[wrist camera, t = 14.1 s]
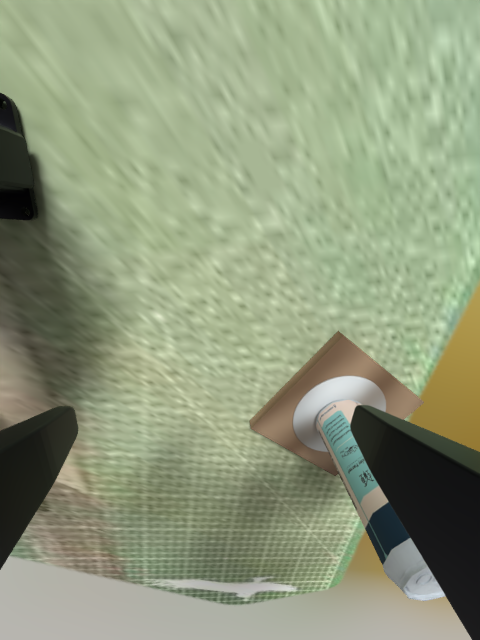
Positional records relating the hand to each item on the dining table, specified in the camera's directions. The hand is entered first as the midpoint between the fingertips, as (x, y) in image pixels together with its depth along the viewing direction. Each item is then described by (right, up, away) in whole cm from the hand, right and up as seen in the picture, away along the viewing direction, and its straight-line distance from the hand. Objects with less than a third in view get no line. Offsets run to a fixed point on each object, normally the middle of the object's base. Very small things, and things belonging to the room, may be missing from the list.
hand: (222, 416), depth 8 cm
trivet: (+10, -6, +17) cm, 21 cm away
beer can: (+10, -6, +16) cm, 20 cm away
